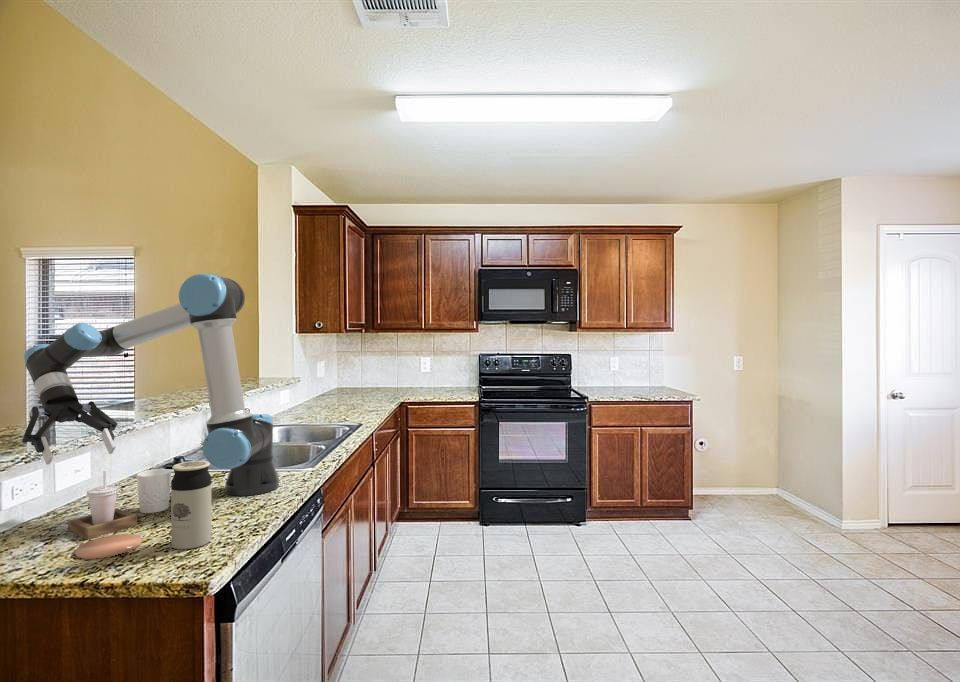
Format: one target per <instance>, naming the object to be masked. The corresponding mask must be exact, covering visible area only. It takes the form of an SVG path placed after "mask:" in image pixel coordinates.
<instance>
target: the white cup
mask: <svg viewBox="0 0 960 682" xmlns="http://www.w3.org/2000/svg"><path fill="white" fill-rule="evenodd" d="M171 481H172V470H171V469H169V468H168V469H167V468H158V469H156V468H155V469H149V470H145V471H141V472H139V473H137V474H136V482H137V483H136V484H137V485H136V486H137V498H138V504H139V513H141V514H155V513H159V512H163V511H166V510H168V509H169V508H170V507H169V506H170V498H171Z"/></svg>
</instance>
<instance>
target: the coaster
mask: <svg viewBox="0 0 960 682" xmlns="http://www.w3.org/2000/svg"><path fill="white" fill-rule="evenodd" d="M142 543H143V537H142V536H141V535H138V534H135V533H117V534H112V535H104V536H100V537H96V538H93V539H90V540H88V541H87V542H84V543H83V544H81V545H79V546H78V547H76V549H75V557H76V558H78V559H80V558H82V559H81V560H97V559H96V558H102V559H105V558H104V557H108V558H112V557H111V556H113V557H116V556H115V555H117V556H119V555H118V554H121V555H123V554H122V553H124V554H126V553H125V552H127V553H129V552H132V551H134V550H136V549H137V548H139V547H140V546H141V545H142ZM135 548H136V549H135ZM133 549H134V550H133ZM131 550H132V551H131ZM128 551H129V552H128Z"/></svg>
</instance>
